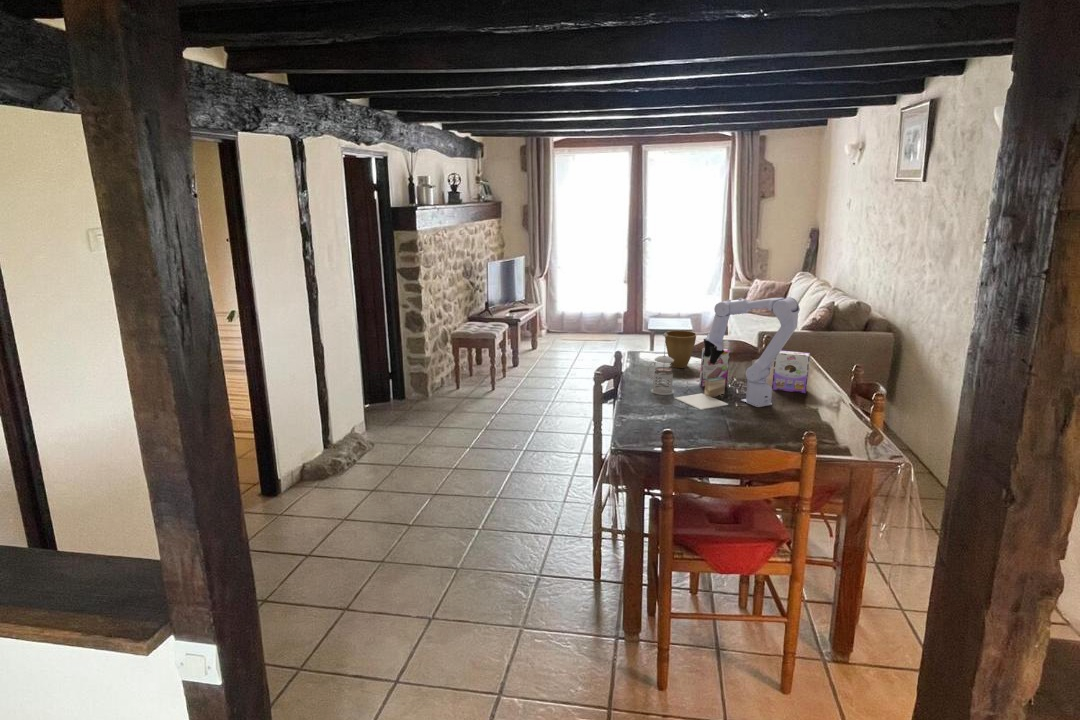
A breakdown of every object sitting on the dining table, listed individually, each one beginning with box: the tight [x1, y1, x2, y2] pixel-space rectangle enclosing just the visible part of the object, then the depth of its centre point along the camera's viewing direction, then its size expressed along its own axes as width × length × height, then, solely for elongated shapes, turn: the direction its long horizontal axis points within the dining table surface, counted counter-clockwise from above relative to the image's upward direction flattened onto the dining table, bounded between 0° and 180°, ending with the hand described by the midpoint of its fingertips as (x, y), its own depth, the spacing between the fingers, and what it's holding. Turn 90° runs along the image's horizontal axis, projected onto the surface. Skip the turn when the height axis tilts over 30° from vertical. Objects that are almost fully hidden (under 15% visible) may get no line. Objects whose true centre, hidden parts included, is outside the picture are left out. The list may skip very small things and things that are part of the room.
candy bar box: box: [699, 347, 731, 388], centre depth 288 cm, size 11×5×16 cm, turn 84°
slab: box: [703, 377, 726, 398], centre depth 277 cm, size 3×8×7 cm, turn 117°
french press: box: [646, 332, 675, 396], centre depth 280 cm, size 10×12×25 cm
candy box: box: [771, 350, 811, 394], centre depth 284 cm, size 14×6×16 cm, turn 65°
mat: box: [674, 393, 729, 411], centre depth 269 cm, size 16×14×1 cm
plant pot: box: [664, 330, 697, 369], centre depth 321 cm, size 15×15×16 cm
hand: (709, 359), depth 279 cm, fingers open, 7 cm apart
